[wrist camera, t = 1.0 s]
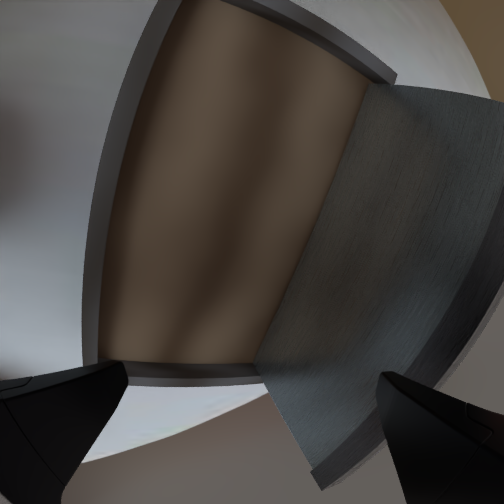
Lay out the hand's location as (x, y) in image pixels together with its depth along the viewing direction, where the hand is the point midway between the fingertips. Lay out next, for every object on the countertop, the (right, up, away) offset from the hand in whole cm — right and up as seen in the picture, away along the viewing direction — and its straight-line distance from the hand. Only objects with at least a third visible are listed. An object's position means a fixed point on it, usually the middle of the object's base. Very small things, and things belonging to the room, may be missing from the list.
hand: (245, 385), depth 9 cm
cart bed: (-2, +7, +9) cm, 12 cm away
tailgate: (+5, +5, +11) cm, 13 cm away
